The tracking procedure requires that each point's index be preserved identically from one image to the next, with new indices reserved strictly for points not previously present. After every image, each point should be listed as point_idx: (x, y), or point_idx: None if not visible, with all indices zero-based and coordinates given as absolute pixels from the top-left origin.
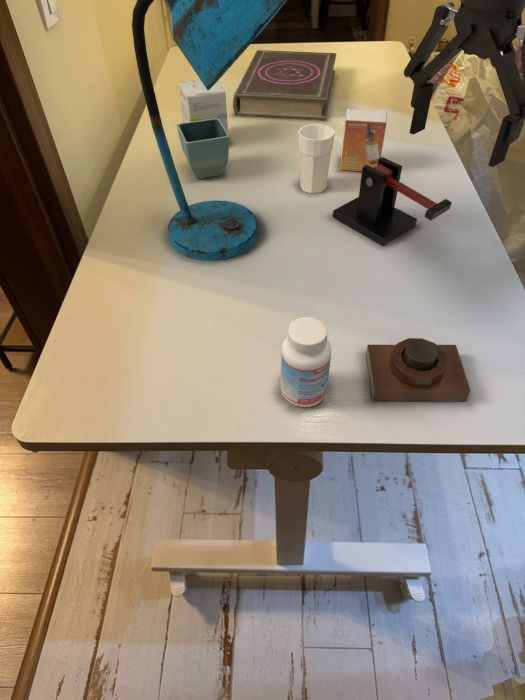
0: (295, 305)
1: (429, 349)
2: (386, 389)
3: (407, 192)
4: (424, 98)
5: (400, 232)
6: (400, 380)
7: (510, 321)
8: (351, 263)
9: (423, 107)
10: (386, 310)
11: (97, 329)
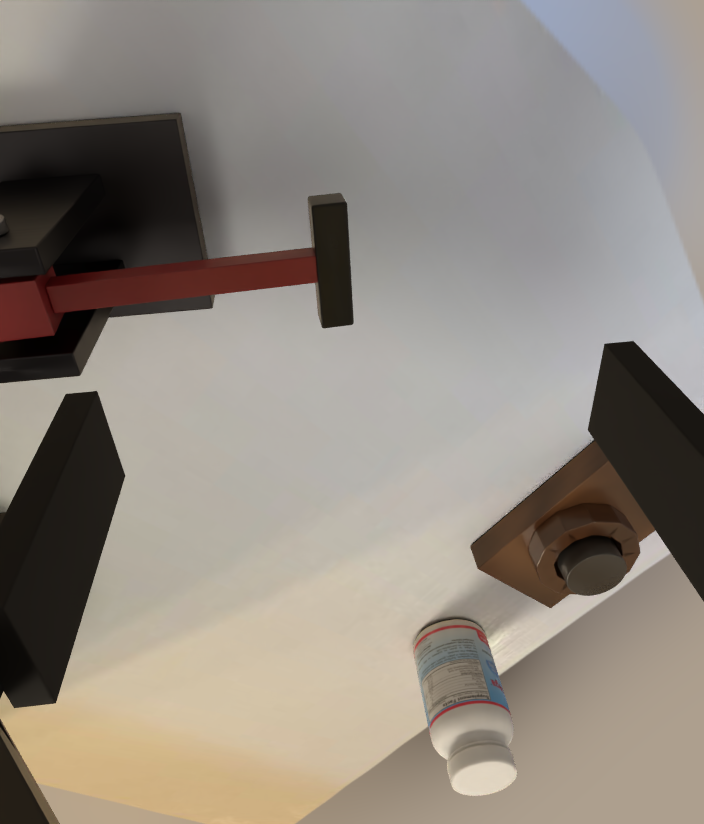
0: (278, 569)
1: (606, 565)
2: (564, 597)
3: (182, 297)
4: (63, 601)
5: (197, 215)
6: None
7: (662, 261)
8: (229, 411)
9: (75, 542)
10: (416, 452)
11: (141, 772)
